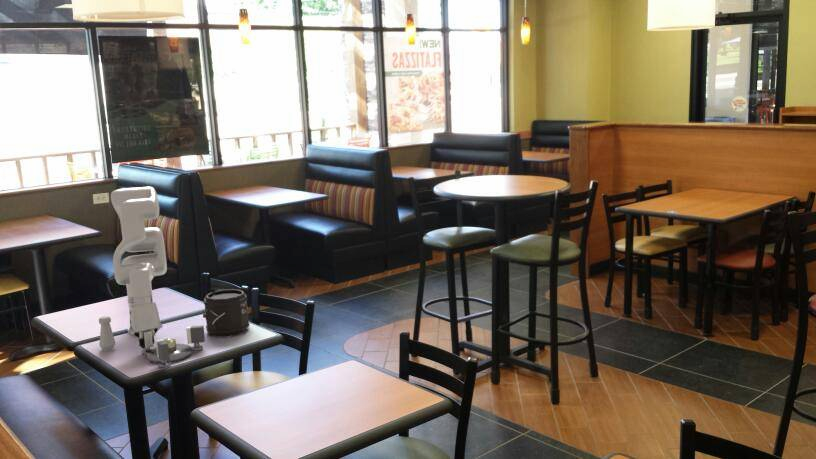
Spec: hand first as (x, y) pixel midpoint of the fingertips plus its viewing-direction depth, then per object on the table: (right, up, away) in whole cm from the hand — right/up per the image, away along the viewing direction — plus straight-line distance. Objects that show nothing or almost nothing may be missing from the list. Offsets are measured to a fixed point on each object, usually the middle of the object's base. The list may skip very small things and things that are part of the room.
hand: (147, 346), depth 279 cm
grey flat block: (0, -1, 0) cm, 1 cm away
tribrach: (+10, -3, -6) cm, 12 cm away
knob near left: (+18, 0, +2) cm, 18 cm away
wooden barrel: (+24, +2, +24) cm, 34 cm away
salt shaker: (-18, -2, +7) cm, 19 cm away
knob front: (+11, -4, -14) cm, 18 cm away
